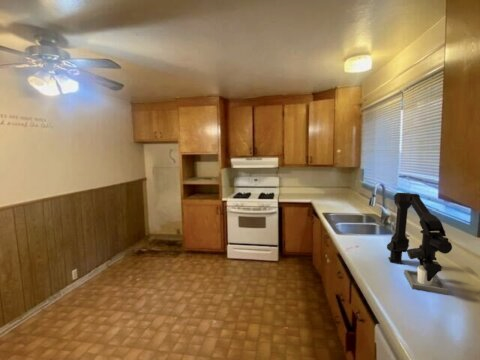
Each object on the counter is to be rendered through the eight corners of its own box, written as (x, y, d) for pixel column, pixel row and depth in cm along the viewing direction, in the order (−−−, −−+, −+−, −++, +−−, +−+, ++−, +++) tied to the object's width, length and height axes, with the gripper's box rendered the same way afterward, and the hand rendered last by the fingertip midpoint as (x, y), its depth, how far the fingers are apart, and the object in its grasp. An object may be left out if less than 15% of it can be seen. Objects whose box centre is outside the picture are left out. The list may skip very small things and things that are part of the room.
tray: (404, 273, 141) (404, 269, 141) (436, 278, 137) (436, 274, 137) (412, 288, 126) (412, 284, 126) (448, 294, 122) (448, 290, 122)
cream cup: (417, 277, 137) (418, 263, 136) (433, 281, 132) (435, 268, 131) (415, 282, 131) (416, 268, 130) (432, 287, 127) (434, 273, 126)
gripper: (404, 236, 141) (401, 265, 143) (414, 249, 123) (411, 282, 125) (430, 239, 137) (426, 269, 139) (444, 253, 119) (439, 287, 122)
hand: (425, 276), depth 131 cm, fingers open, 9 cm apart
